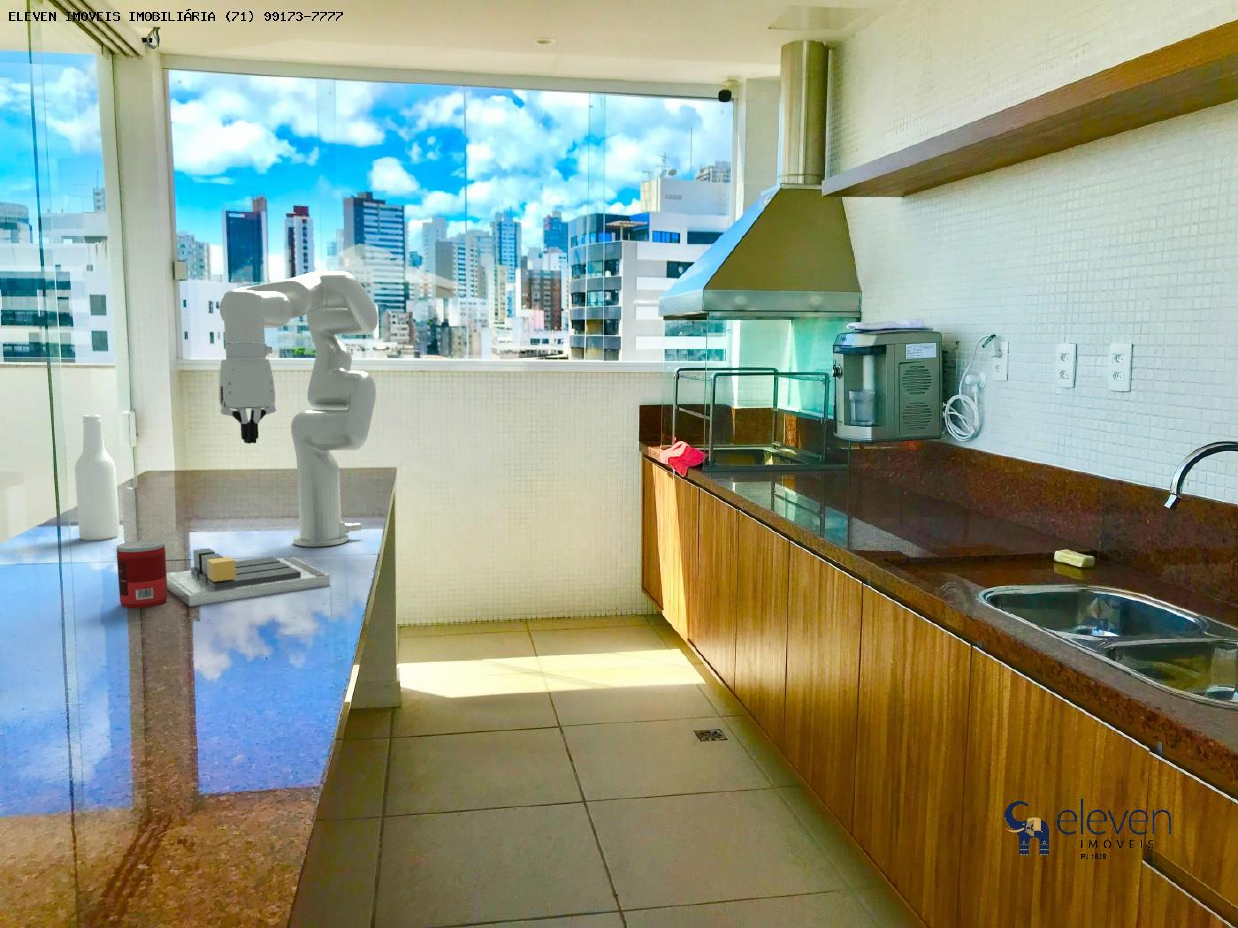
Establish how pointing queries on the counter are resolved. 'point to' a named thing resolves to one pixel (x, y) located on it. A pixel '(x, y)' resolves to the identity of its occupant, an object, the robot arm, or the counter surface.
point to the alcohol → (96, 486)
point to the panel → (243, 579)
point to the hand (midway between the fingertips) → (250, 442)
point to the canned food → (142, 573)
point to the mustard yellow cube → (221, 569)
